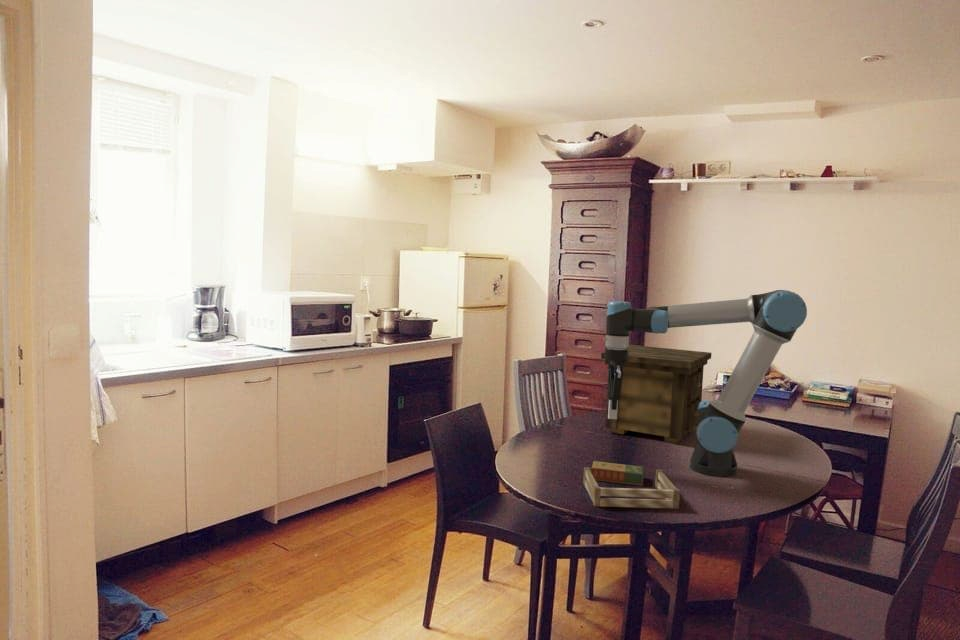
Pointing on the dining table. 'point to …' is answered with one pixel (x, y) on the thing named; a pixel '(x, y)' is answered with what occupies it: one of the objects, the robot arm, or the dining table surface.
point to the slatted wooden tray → (634, 493)
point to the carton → (617, 473)
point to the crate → (659, 392)
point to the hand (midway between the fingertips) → (612, 418)
